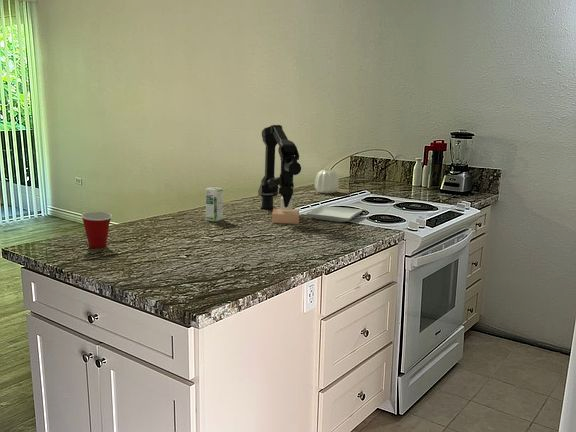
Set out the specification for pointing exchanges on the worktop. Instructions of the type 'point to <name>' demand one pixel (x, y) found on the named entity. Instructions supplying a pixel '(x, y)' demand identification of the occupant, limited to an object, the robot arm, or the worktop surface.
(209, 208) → the syrup box
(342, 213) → the salad plate
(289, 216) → the stand
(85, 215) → the plastic cup
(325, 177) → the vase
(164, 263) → the worktop surface
